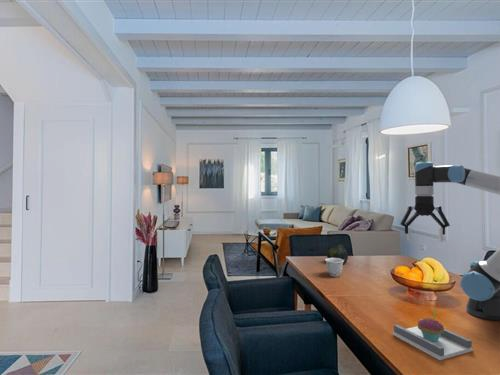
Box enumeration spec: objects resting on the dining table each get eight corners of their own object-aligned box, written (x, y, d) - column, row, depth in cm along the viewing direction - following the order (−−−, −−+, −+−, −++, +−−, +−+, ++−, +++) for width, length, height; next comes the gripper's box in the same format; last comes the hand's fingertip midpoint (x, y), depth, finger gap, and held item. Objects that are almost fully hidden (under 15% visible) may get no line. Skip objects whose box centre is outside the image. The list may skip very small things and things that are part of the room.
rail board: (393, 334, 127) (392, 325, 127) (423, 327, 133) (423, 318, 133) (439, 360, 108) (439, 349, 108) (472, 350, 114) (472, 340, 114)
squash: (321, 254, 248) (329, 241, 239) (336, 253, 254) (345, 240, 245) (329, 270, 238) (339, 257, 229) (345, 268, 245) (355, 256, 236)
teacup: (341, 271, 219) (341, 256, 219) (346, 278, 204) (345, 262, 204) (323, 271, 220) (323, 256, 220) (326, 277, 205) (326, 261, 205)
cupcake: (435, 333, 125) (434, 302, 125) (449, 344, 117) (449, 310, 116) (413, 334, 125) (412, 302, 125) (426, 345, 116) (425, 311, 116)
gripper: (451, 195, 152) (451, 240, 153) (393, 195, 158) (394, 239, 158) (457, 195, 145) (457, 243, 145) (396, 195, 151) (397, 241, 151)
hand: (424, 241), depth 152 cm, fingers open, 13 cm apart
